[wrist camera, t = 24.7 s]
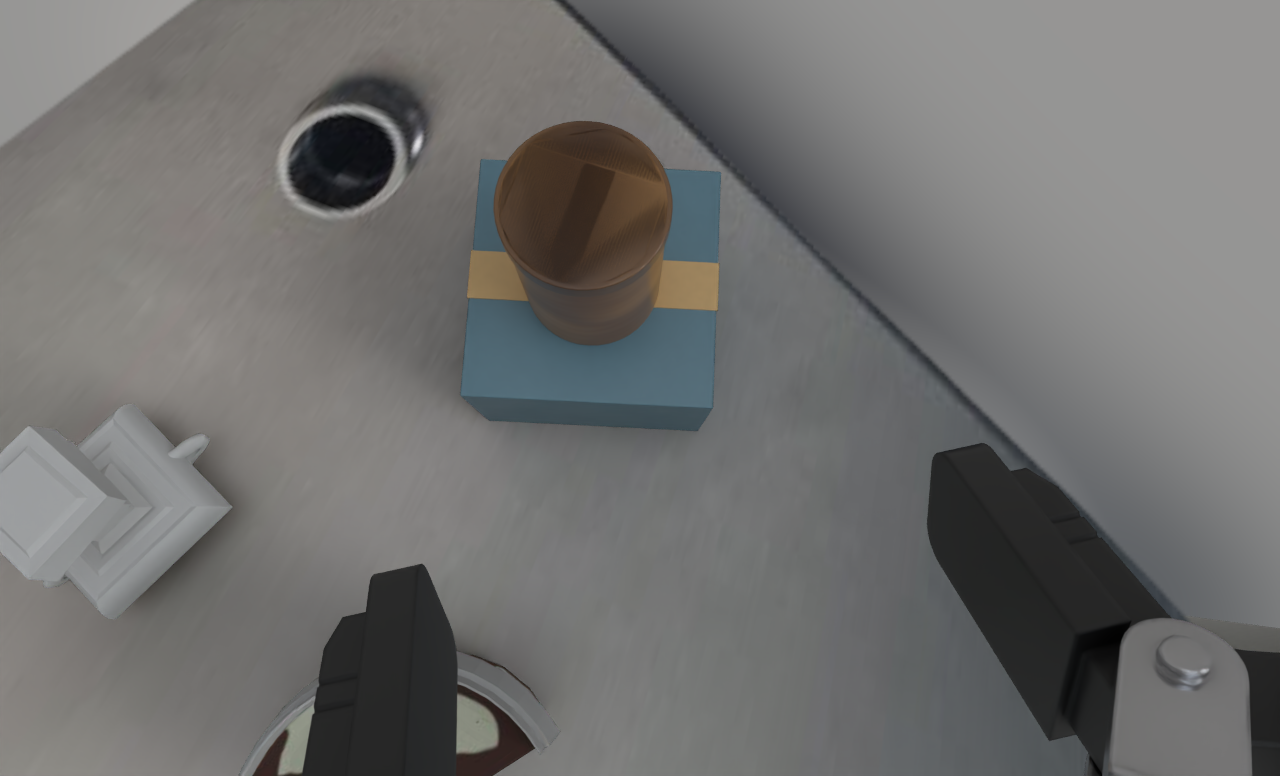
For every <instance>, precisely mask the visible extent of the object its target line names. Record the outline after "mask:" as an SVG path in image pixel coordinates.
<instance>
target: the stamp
mask: <svg viewBox="0 0 1280 776" xmlns="http://www.w3.org/2000/svg"><path fill="white" fill-rule="evenodd" d="M209 441H210V439H209V437H208V436H206V435H204V434H202V433H198V434H196V435H194V436H192V437H190V438H188V439H186V440H184V441H183V442H181V443H180V444H179V445H178V446H177V447H175V446H174V445H173V444H172V443H171V442H170V441H169V440H168V439H167V438H166V437H165V436H164V435H163V434H162V433H161V432H160V431H159V430H158V428H157V427H156V426H155V425H154V424H153V423H152V422H151V421H150V420H149V419H148V418H147V417H146V416H145V415H144V414H143V413H142V412H141V411H140V410H139V409H138V408H137V406H136V405H135V404H125V405H124V406H122V407H120V408H118V409H117V410H116V411H115V412H114V413H113V414H112V415H111V416H110V417H108V418H107V419H106V420H105V421H104V422H103V423H102V424H101V425H100V426H99V427H97V428H96V429H95V430H94V431H93V432H92V433H91V434H90V435H89V436H88V437H87V438H85V439H84V440H83V441H82V442H81V443H80V444H79V445H78V446H76V445H75V444H74V443H73V442H72V441H68V440H66V439H65V438H64V437H63V436H62V435H61V434H60V433H59V432H58V431H57V430H56V429H50V428H43V427H36V426H28V427H27V428H26V429H25V430H24V431H23V432H22V433H21V434H20V435H18V436H17V437H16V438H15V439H14V440H13V441H12V442H11V443H10V444H9V445H8V446H7V447H6V448H5V449H4V450H3V451H2V452H1V453H0V552H1V553H2V554H3V555H4V556H5V557H6V558H7V559H8V560H9V561H10V562H11V563H12V564H13V565H14V566H15V567H16V568H17V569H18V570H19V571H20V572H21V573H22V574H23V575H24V576H25V577H26V578H27V579H29V580H43V586H44V587H45V588H53V587H58V586H60V585H62V584H63V583H65V582H66V581H68V580H69V579H70V580H71V581H72V582H73V583H74V585H75V586H76V587H77V588H78V589H79V590H80V591H81V592H82V593H83V594H84V596H85V597H86V598H87V599H88V600H89V601H90V602H91V603H92V604H93V605H94V606H95V608H96V609H97V610H98V611H99V612H100V613H101V614H102V615H104V616H105V617H106V618H109V619H116V618H118V617H119V616H120V615H121V614H122V613H123V612H124V611H125V610H126V609H127V608H128V607H129V606H130V605H131V604H132V603H133V602H134V601H135V600H136V599H137V598H138V597H140V596H141V595H142V594H143V593H144V592H145V591H146V590H147V589H148V588H149V587H150V586H151V585H152V584H153V583H154V582H155V581H156V580H157V579H158V578H159V577H160V576H161V575H163V574H164V573H165V572H166V571H167V570H168V569H169V568H170V567H171V566H172V565H173V564H174V563H175V562H176V561H177V560H178V559H179V558H180V557H181V556H182V555H183V554H184V553H186V552H187V551H188V550H189V549H190V548H191V547H192V546H193V545H194V544H195V543H196V542H197V541H198V540H199V539H200V538H201V537H202V536H203V535H204V534H205V533H206V532H207V531H209V530H210V529H211V528H212V527H213V526H214V525H215V524H216V523H217V522H218V521H219V520H220V519H221V518H222V517H223V516H224V515H225V514H226V513H227V512H228V511H229V510H230V509H232V508H233V507H232V506H231V505H230V504H229V503H228V502H227V501H226V500H225V499H224V498H223V497H222V496H221V494H220V493H219V492H218V491H217V490H216V489H215V488H214V487H213V486H212V485H211V484H210V483H209V482H208V481H207V480H206V479H205V478H204V477H203V476H202V475H201V474H200V472H199V471H198V470H197V469H196V468H195V467H194V466H193V465H192V464H193V463H194V462H195V460H196V459H197V458H198V457H199V456H200V454H201V453H202V452H203V451H204V450H205V449H206V447H207V445H208V444H209Z"/></svg>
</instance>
